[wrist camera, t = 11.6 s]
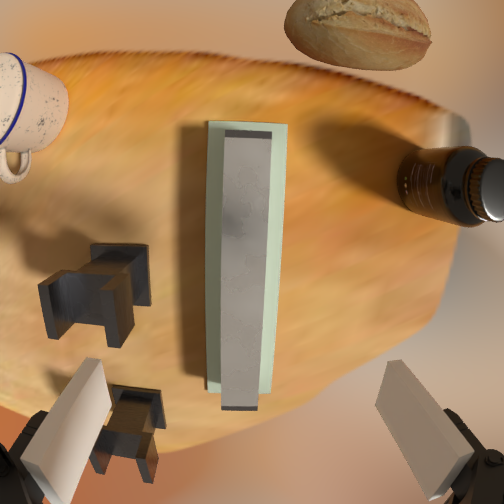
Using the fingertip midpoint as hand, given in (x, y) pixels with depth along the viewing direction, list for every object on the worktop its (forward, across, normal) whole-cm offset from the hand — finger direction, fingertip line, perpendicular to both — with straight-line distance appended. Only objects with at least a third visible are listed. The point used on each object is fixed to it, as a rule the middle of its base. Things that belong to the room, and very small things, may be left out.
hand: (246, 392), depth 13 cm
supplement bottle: (+18, +18, +10) cm, 27 cm away
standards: (+18, -12, -9) cm, 23 cm away
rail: (+17, 0, 0) cm, 17 cm away
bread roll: (+18, +11, +24) cm, 32 cm away
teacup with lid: (+18, -22, +15) cm, 32 cm away
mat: (+18, 0, 0) cm, 18 cm away
